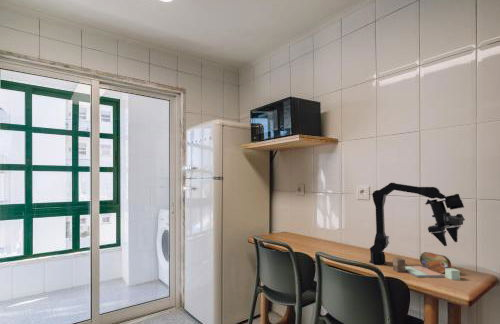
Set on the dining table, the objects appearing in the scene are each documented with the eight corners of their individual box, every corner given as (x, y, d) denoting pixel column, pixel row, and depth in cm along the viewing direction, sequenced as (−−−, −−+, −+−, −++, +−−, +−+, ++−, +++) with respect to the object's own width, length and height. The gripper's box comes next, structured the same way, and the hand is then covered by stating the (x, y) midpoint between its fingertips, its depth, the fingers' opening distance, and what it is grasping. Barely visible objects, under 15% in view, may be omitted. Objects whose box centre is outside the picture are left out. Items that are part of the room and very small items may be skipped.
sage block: (451, 279, 131) (451, 270, 131) (445, 277, 135) (445, 268, 135) (460, 279, 131) (459, 270, 131) (453, 277, 135) (453, 268, 135)
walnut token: (397, 272, 141) (397, 259, 141) (393, 269, 145) (392, 257, 145) (405, 272, 141) (405, 259, 142) (400, 269, 145) (400, 257, 146)
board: (417, 277, 133) (417, 275, 133) (397, 267, 150) (397, 265, 150) (444, 277, 134) (444, 275, 134) (421, 267, 151) (421, 265, 151)
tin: (419, 266, 152) (419, 250, 152) (424, 266, 153) (423, 250, 153) (448, 275, 137) (447, 257, 138) (452, 274, 139) (452, 256, 139)
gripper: (445, 212, 131) (458, 247, 127) (467, 206, 139) (479, 239, 136) (422, 215, 140) (433, 248, 136) (444, 210, 149) (454, 240, 145)
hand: (451, 244), depth 138 cm, fingers open, 9 cm apart
